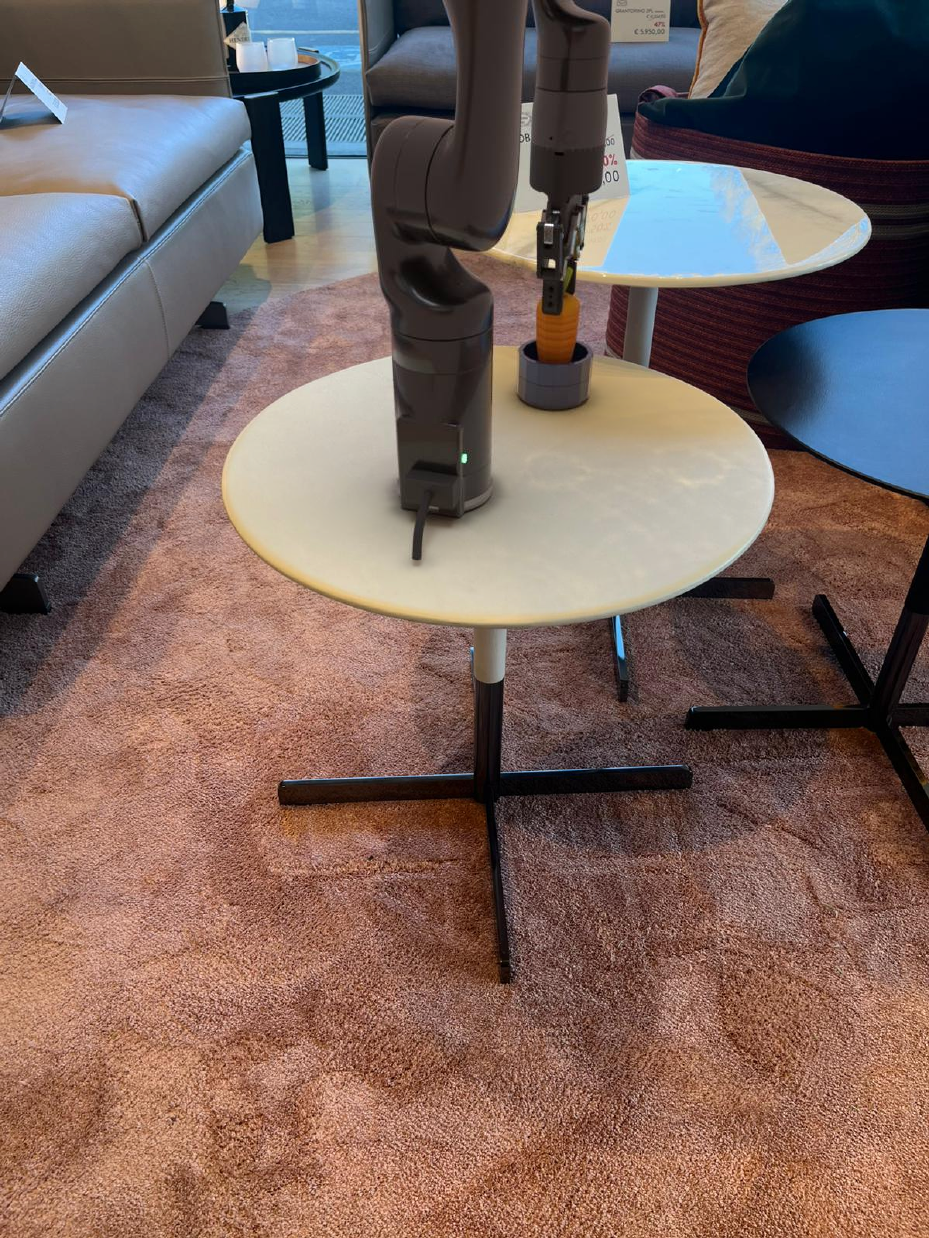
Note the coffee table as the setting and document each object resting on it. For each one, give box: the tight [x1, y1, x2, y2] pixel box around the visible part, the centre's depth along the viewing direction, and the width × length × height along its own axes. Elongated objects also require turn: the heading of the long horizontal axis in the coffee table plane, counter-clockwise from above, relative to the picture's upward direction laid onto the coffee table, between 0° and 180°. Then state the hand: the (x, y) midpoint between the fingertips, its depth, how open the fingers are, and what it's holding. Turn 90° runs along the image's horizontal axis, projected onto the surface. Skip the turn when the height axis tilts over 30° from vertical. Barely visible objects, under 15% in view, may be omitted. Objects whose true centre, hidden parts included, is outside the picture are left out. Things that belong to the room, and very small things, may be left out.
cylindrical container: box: [516, 338, 594, 411], centre depth 108 cm, size 9×9×6 cm
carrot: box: [535, 267, 581, 364], centre depth 105 cm, size 5×5×15 cm
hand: (558, 304), depth 103 cm, fingers open, 5 cm apart
